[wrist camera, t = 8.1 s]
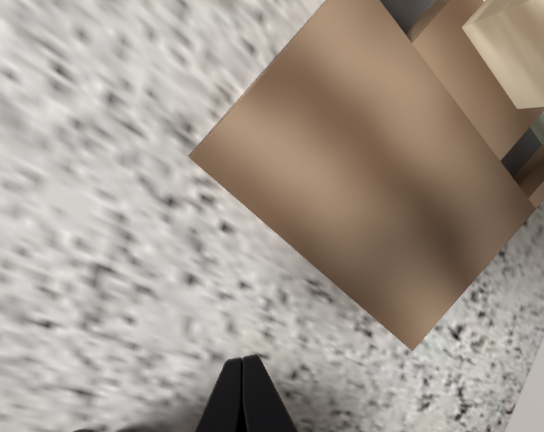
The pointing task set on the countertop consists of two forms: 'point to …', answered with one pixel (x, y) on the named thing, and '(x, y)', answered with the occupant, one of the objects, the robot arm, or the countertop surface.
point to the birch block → (512, 46)
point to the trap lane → (384, 155)
